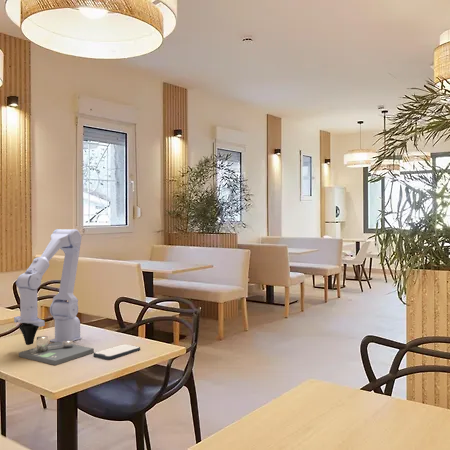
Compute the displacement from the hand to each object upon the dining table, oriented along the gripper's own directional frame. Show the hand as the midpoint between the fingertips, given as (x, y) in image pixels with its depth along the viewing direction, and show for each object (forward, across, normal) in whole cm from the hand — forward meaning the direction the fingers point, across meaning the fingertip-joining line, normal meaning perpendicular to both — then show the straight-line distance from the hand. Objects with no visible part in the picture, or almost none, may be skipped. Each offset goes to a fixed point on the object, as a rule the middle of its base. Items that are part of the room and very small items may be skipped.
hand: (29, 344), depth 176 cm
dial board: (+3, +10, +4) cm, 11 cm away
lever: (+1, +8, +4) cm, 9 cm away
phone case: (+4, +27, +16) cm, 32 cm away
